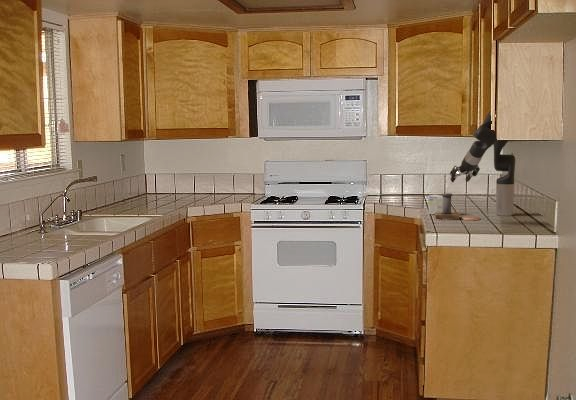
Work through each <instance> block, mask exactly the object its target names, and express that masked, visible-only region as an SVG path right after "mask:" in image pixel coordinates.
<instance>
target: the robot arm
mask: <svg viewBox="0 0 576 400" xmlns="http://www.w3.org/2000/svg"><path fill="white" fill-rule="evenodd" d="M491 124H492V121H491V115H490V111H488V113H487V114H486V116H485V118H484V121H483V123H482V124H481V125H480V126H478V128H477V129H475V132H474V138H475V139H476V140H475V141H473V143H472V144H471V147H470V148H469V150H468V151H467V152H466V154H465V155H464V158H462V160H461V165H459V166H457V165H454V166H453V168H451V171H450V172H449V175H450V181H451V183H454V182H455V180H456V179H457V177H461V176H462V175H466V177H465V178H464V179H465V181H466V182H467V183H468V182H470V181H471V179H472V178H473V177H476V176H477V175H478V173H479V171H480V170H481V168H480V167H479V164H480V162H481V160H482V159H483V156H484V155H485V153H486V151H487V150H488V149H490V148H491V147H493V167H494V170H495V171H496V172H507V173H506V175H504V176H501V177H498V178H496V182H495V185H496V187H495V188H496V191H495V193H496V195H495V215H496V216H501V217H502V216H503V217H507V216H509V217H510V216H514V209H515V208H514V206H515V203H514V202H515V170H516V169H515V168H516V157H515V154H503V153H502V154H501V152H502V151H503V149H504V147H505V146H506V145H507V144H508V142H509V141H497V139H496V132H495V131H494V130H491Z"/></svg>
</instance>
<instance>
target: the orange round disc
mask: <svg viewBox="0 0 576 400" xmlns="http://www.w3.org/2000/svg"><path fill="white" fill-rule="evenodd" d="M462 219H463V220H462ZM461 220H462V221H468V220H469V221H471V222H472V221H473V222H474V221H480V217H478V216H461Z"/></svg>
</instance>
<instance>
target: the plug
mask: <svg viewBox="0 0 576 400" xmlns="http://www.w3.org/2000/svg"><path fill="white" fill-rule="evenodd" d="M441 195H442V196H443V214H451V212H452V197H453V193H447V192H445V193H442V194H441Z"/></svg>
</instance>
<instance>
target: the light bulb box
mask: <svg viewBox="0 0 576 400" xmlns="http://www.w3.org/2000/svg"><path fill="white" fill-rule="evenodd" d="M435 212H443V196H442V194H431V195H428V215H429V214H435Z"/></svg>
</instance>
